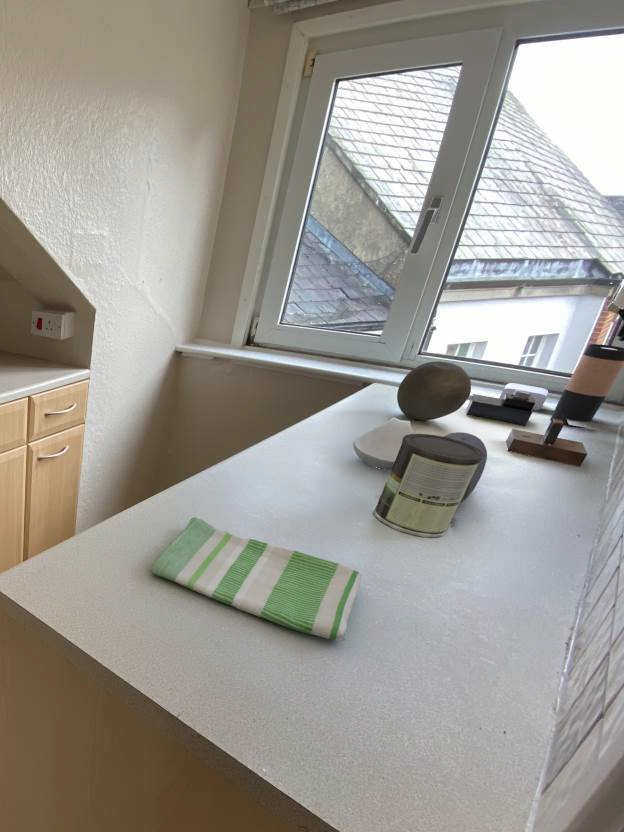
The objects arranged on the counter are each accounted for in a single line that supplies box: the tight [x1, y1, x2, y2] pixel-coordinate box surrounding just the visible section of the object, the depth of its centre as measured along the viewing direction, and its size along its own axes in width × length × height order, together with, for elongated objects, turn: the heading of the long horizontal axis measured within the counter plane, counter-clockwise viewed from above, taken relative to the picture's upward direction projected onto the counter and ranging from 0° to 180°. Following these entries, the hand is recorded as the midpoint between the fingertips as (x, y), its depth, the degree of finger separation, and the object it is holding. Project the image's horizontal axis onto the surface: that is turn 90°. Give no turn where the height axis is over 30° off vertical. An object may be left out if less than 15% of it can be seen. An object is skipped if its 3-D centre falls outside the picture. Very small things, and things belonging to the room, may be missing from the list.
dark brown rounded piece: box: [396, 360, 472, 421], centre depth 138 cm, size 14×14×15 cm
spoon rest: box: [352, 417, 414, 471], centre depth 116 cm, size 24×12×7 cm, turn 140°
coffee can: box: [373, 433, 484, 538], centre depth 89 cm, size 10×10×14 cm
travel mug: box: [549, 343, 624, 429], centre depth 139 cm, size 8×8×20 cm
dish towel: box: [149, 516, 362, 642], centre depth 75 cm, size 18×23×3 cm
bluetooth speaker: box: [442, 431, 488, 504], centre depth 100 cm, size 23×9×10 cm, turn 134°
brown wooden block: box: [506, 428, 588, 468], centre depth 123 cm, size 12×9×3 cm
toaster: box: [465, 393, 535, 427], centre depth 145 cm, size 12×9×6 cm
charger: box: [498, 382, 549, 411], centre depth 159 cm, size 5×9×15 cm
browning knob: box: [543, 418, 565, 444], centre depth 121 cm, size 4×2×5 cm, turn 139°
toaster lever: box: [512, 390, 530, 400], centre depth 142 cm, size 3×3×2 cm
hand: (623, 340), depth 126 cm, fingers closed
